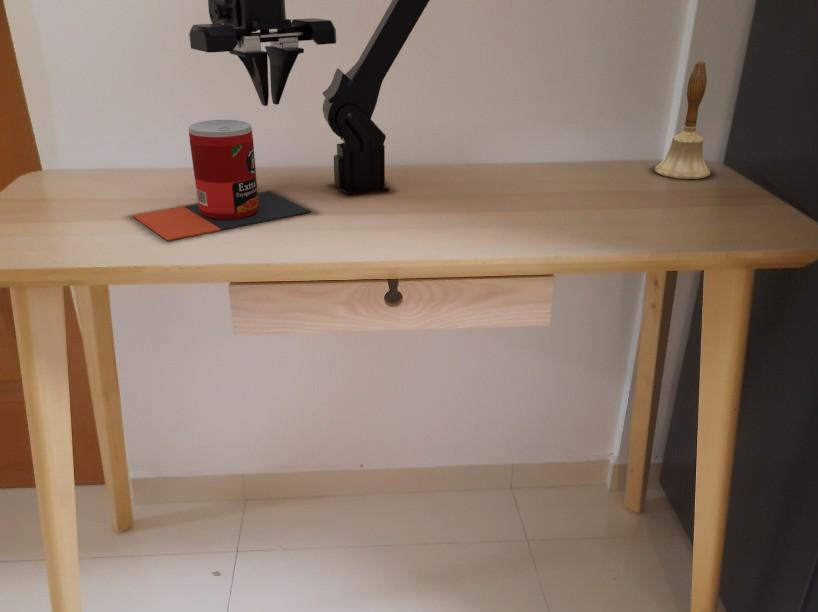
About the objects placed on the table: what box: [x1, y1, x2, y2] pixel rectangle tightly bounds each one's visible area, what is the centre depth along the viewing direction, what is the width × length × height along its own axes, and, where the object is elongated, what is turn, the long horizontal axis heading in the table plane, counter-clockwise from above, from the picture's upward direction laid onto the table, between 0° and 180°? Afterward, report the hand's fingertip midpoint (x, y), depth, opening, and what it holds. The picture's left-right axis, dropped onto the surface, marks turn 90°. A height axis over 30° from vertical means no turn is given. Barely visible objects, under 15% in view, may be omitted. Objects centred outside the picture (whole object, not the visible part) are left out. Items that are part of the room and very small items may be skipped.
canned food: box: [188, 119, 259, 220], centre depth 100 cm, size 8×8×11 cm
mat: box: [184, 190, 312, 231], centre depth 104 cm, size 13×12×1 cm
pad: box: [132, 205, 222, 242], centre depth 99 cm, size 7×12×1 cm, turn 36°
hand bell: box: [654, 61, 711, 180], centre depth 117 cm, size 8×8×16 cm
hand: (270, 104), depth 105 cm, fingers closed
